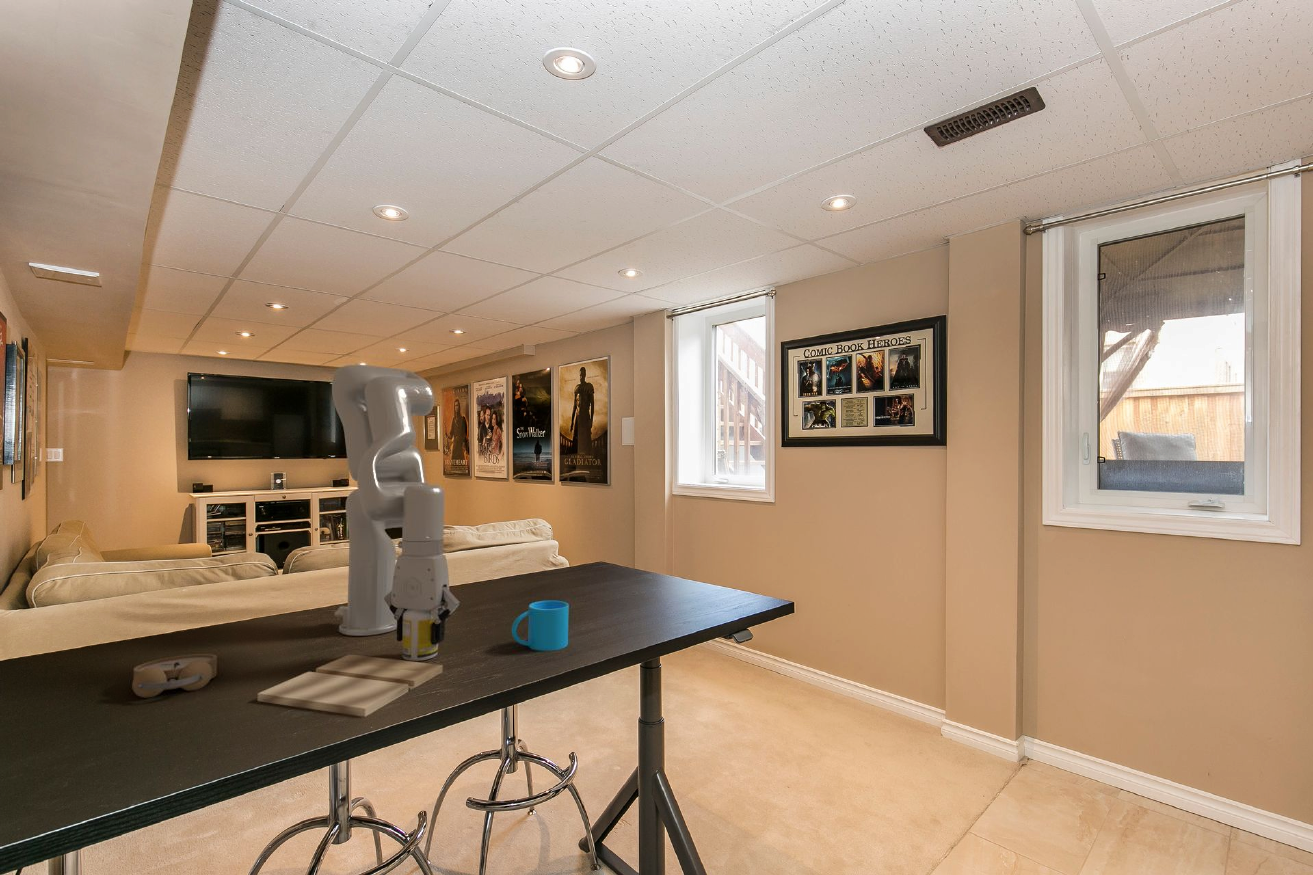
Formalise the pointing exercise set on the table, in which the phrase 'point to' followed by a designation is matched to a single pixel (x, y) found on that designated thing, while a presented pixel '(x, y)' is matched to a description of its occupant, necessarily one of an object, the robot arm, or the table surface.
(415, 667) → the floor row
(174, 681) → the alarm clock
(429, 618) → the pill bottle
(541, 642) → the mug
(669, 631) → the table surface
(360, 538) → the robot arm
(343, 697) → the plank
